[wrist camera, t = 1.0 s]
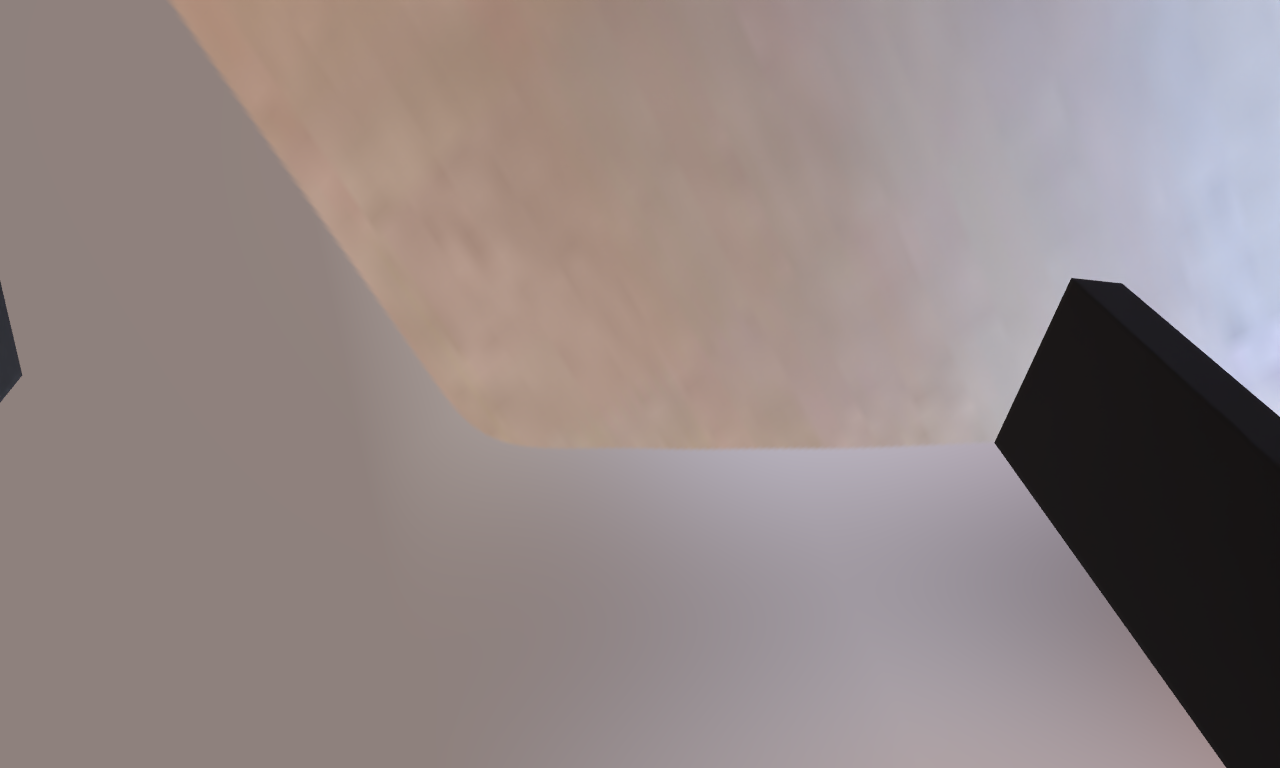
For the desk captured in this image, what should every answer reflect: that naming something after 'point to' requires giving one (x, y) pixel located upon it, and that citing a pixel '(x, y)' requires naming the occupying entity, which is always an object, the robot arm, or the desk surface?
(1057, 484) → the robot arm
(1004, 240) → the desk surface
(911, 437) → the desk surface
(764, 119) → the desk surface
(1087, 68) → the desk surface
